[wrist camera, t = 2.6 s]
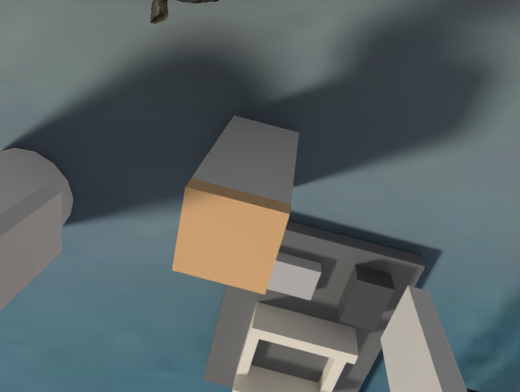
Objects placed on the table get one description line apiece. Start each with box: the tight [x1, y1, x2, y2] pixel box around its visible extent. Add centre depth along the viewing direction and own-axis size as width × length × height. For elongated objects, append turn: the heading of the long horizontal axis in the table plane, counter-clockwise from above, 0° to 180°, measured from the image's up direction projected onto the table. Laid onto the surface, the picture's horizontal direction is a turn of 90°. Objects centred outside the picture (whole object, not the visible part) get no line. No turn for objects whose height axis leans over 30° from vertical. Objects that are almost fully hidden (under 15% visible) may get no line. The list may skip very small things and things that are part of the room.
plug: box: [172, 115, 299, 295], centre depth 20 cm, size 4×4×10 cm
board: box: [203, 221, 425, 392], centre depth 28 cm, size 16×12×4 cm
